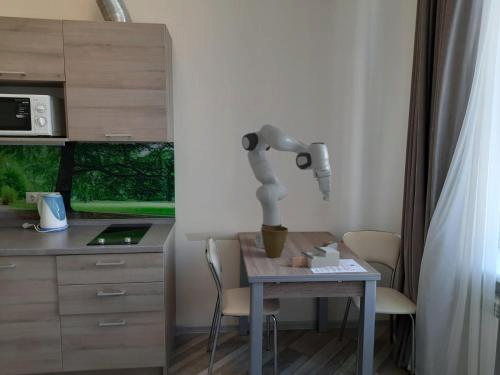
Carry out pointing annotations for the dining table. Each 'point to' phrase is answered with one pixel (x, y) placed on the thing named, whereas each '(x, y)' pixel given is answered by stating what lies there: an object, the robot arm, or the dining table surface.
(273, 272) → the dining table surface
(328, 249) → the dispenser
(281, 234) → the plant pot
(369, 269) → the dining table surface
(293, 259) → the brown block
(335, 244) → the tin
